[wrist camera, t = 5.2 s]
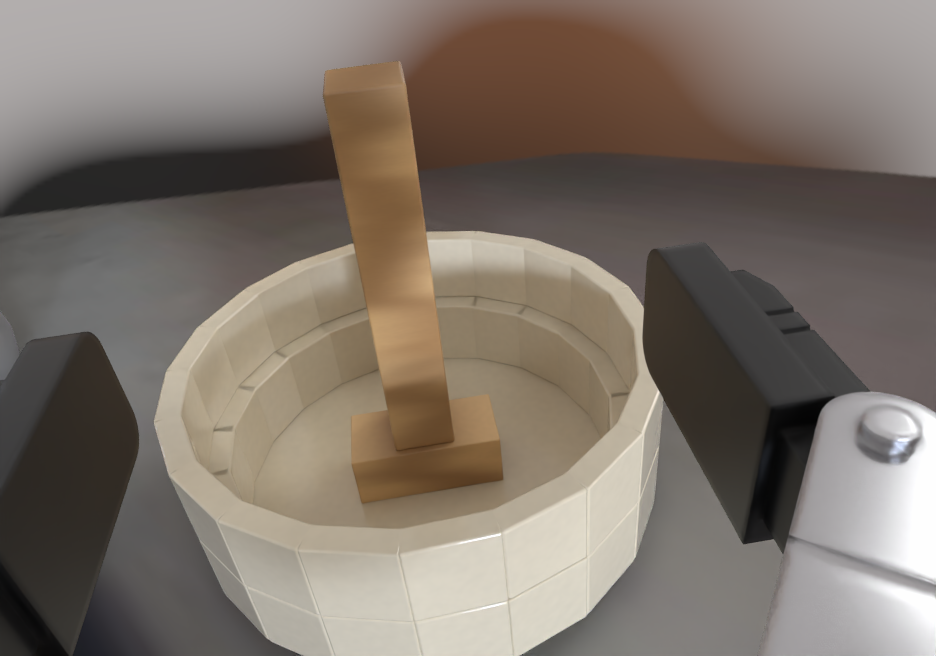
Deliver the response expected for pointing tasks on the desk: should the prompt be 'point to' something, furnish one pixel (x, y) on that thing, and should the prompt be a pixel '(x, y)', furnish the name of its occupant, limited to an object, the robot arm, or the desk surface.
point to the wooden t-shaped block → (400, 301)
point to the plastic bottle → (7, 347)
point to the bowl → (433, 513)
